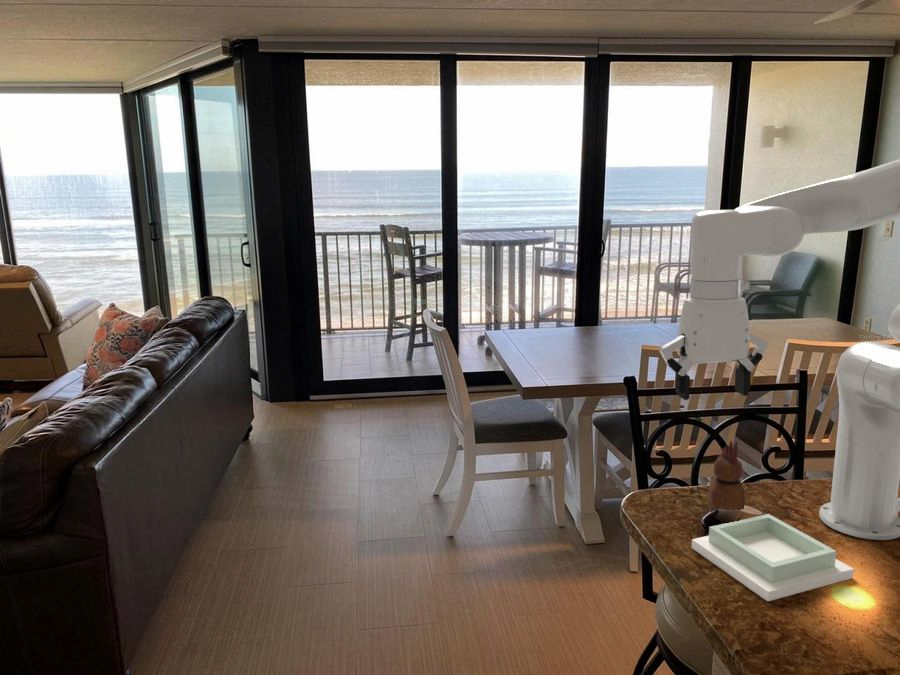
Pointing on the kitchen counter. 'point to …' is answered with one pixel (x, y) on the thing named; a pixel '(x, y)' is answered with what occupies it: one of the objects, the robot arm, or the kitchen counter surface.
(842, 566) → the ceramic stand
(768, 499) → the kitchen counter surface
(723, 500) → the wooden figurine
